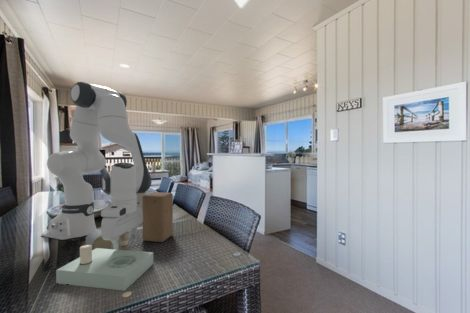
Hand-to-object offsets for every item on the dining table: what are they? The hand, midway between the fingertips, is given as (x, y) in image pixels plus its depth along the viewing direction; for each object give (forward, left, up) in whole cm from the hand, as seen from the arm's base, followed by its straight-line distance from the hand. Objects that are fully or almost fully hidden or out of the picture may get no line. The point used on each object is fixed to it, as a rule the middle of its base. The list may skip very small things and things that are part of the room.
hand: (125, 243), depth 88 cm
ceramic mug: (-12, +4, -5) cm, 13 cm away
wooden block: (+3, +19, -5) cm, 20 cm away
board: (+2, -12, -5) cm, 13 cm away
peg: (-1, 0, -5) cm, 5 cm away
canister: (-31, +52, -5) cm, 60 cm away
